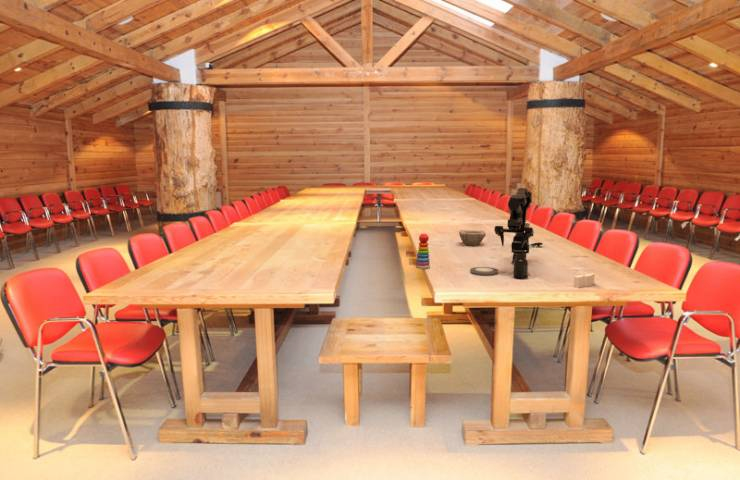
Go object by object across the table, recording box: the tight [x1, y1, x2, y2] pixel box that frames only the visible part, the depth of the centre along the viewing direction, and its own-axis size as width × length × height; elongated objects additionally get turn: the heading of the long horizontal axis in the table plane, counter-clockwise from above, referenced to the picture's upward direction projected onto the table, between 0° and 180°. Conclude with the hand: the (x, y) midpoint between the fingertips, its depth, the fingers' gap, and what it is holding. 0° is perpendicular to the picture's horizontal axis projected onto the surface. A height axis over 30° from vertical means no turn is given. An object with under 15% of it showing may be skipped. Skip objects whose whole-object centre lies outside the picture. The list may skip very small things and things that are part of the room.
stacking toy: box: [414, 232, 431, 270], centre depth 291 cm, size 8×8×19 cm
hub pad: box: [469, 266, 499, 277], centre depth 280 cm, size 14×14×2 cm
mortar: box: [458, 229, 487, 247], centre depth 360 cm, size 17×17×9 cm
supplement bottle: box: [512, 253, 529, 280], centre depth 268 cm, size 7×7×12 cm
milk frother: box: [514, 222, 543, 247], centre depth 353 cm, size 14×16×15 cm
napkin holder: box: [572, 273, 596, 289], centre depth 252 cm, size 15×11×6 cm
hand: (511, 246), depth 273 cm, fingers open, 9 cm apart
